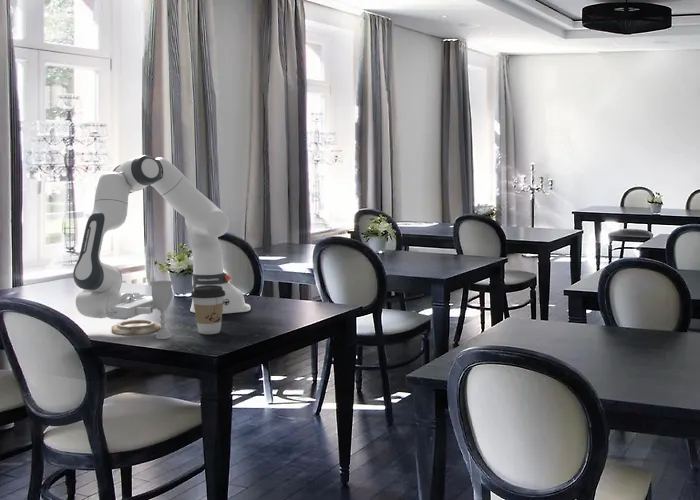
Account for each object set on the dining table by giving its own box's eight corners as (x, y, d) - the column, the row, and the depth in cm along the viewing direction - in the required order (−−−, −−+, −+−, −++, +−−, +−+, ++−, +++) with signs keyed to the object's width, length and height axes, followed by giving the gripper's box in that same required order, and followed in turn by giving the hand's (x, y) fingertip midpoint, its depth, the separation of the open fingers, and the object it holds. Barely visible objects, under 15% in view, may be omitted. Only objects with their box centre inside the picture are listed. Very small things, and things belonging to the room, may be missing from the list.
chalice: (176, 334, 279) (174, 280, 277) (172, 339, 272) (170, 283, 270) (154, 334, 279) (152, 280, 276) (149, 339, 272) (147, 284, 270)
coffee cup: (201, 337, 275) (200, 291, 273) (186, 331, 284) (184, 287, 282) (232, 332, 281) (231, 287, 279) (216, 326, 290) (215, 283, 289)
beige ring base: (160, 323, 297) (160, 317, 296) (160, 333, 281) (160, 326, 281) (113, 326, 293) (112, 319, 293) (110, 336, 278) (109, 329, 277)
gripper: (103, 302, 269) (141, 304, 264) (138, 291, 288) (174, 293, 284) (104, 321, 269) (142, 324, 265) (138, 309, 289) (175, 311, 285)
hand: (159, 308), depth 275 cm, fingers open, 8 cm apart
